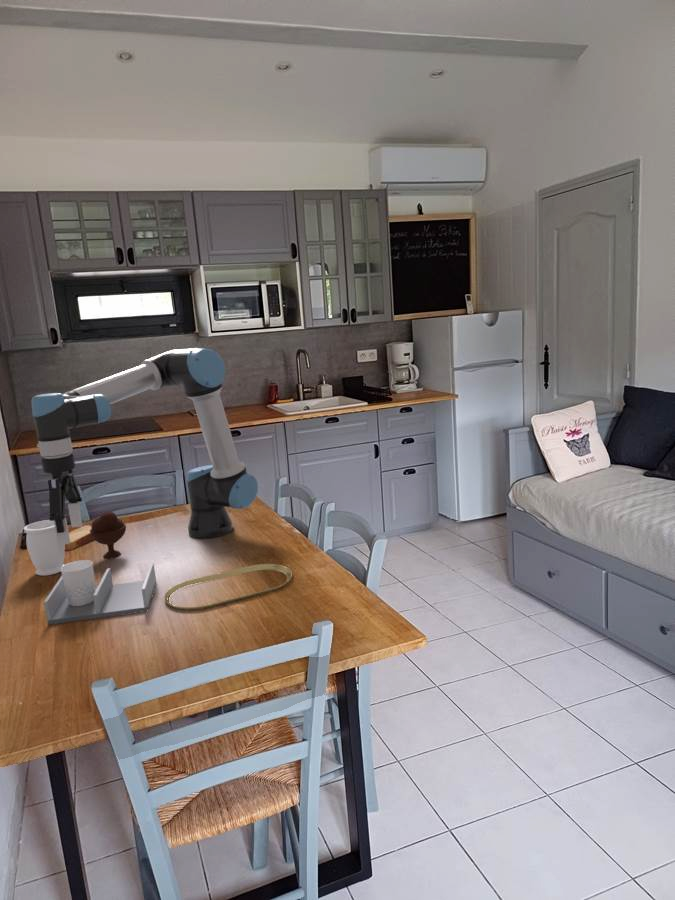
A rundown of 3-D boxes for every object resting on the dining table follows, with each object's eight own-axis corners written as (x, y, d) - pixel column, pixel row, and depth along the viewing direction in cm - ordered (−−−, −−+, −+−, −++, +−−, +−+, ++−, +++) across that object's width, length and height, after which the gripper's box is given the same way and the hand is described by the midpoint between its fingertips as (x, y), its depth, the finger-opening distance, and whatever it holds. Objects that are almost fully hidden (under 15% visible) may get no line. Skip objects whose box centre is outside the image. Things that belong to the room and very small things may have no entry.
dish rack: (156, 583, 178) (153, 562, 177) (148, 611, 161) (144, 588, 160) (66, 594, 175) (62, 574, 174) (48, 624, 158) (43, 601, 156)
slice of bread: (59, 553, 210) (57, 542, 209) (54, 538, 226) (52, 528, 225) (115, 541, 218) (113, 531, 217) (106, 527, 234) (105, 518, 233)
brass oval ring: (302, 586, 170) (302, 580, 170) (172, 619, 156) (171, 613, 156) (279, 563, 187) (279, 558, 187) (159, 592, 173) (159, 587, 173)
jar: (76, 565, 197) (68, 519, 194) (51, 578, 187) (43, 531, 184) (49, 563, 200) (41, 518, 197) (24, 576, 191) (15, 529, 188)
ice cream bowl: (135, 548, 208) (128, 505, 205) (120, 561, 197) (113, 516, 194) (104, 549, 209) (97, 506, 206) (88, 562, 198) (80, 517, 195)
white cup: (72, 596, 171) (66, 561, 169) (101, 593, 171) (96, 558, 169) (62, 609, 163) (56, 573, 161) (93, 606, 164) (87, 570, 162)
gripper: (55, 447, 170) (68, 521, 175) (25, 468, 146) (41, 553, 151) (83, 444, 171) (96, 518, 176) (59, 464, 147) (74, 549, 152)
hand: (71, 534), depth 163 cm, fingers open, 13 cm apart
